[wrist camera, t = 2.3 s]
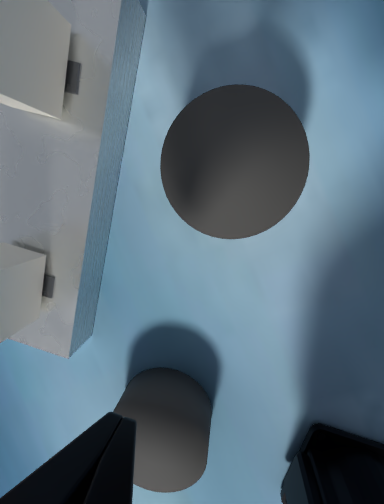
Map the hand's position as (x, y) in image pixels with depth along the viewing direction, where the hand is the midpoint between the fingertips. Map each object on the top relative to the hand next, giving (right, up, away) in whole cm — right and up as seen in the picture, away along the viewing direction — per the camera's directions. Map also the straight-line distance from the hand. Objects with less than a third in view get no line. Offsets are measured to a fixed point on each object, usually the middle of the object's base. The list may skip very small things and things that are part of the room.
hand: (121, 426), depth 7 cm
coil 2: (+4, +9, +6) cm, 12 cm away
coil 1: (0, -5, +10) cm, 11 cm away
